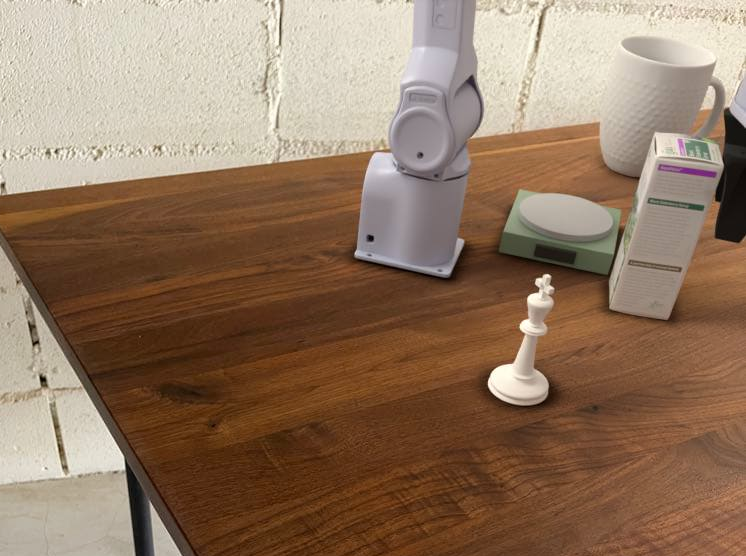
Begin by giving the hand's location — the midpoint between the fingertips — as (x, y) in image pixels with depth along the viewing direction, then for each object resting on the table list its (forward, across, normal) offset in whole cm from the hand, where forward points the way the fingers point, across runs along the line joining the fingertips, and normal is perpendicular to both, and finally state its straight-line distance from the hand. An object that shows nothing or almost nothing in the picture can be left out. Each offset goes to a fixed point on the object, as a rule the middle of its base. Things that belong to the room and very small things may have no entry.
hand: (726, 220), depth 75 cm
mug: (+10, +36, +6) cm, 38 cm away
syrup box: (+10, +2, +5) cm, 11 cm away
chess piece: (+10, -17, +13) cm, 24 cm away
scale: (+10, +12, +13) cm, 20 cm away
